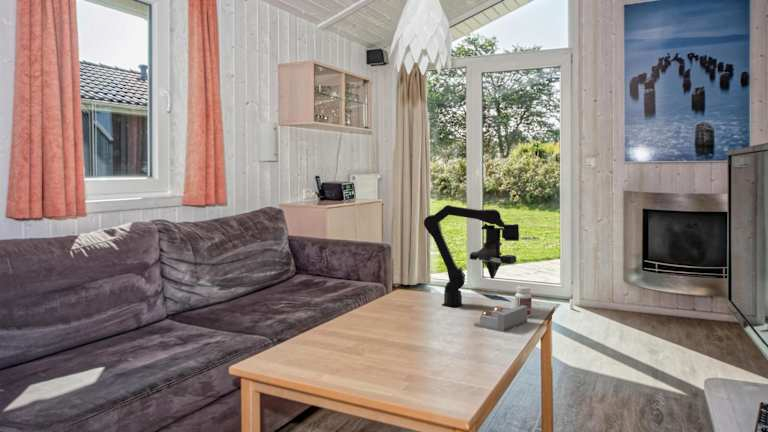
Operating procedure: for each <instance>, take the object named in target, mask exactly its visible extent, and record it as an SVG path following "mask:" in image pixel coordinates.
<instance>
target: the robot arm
mask: <svg viewBox="0 0 768 432" xmlns="http://www.w3.org/2000/svg"><path fill="white" fill-rule="evenodd" d="M448 216H455V217H460V218H467V219H474V220H478V221H481V222H484V225H482V226H481V230H485V242H484V243H483V248H480V250H476V251H471V252H470V253H469V260H473V261H476V260H479V261H481V263H482V264H484V265H485V266H486V268H487V271H488V274H489V277H490V279H492V280H493V279H495V276H496V274H497V272H498V270H499V268H500V266H501V265H502V264H505V265H506V264H507V265H510V264H515V263H517V257H516V255H512V254H505V255H502V252H501V246H502V245H503V243H502V242H501V239H503V240H504V241H505V242H506V241H507V242H519V241H520V232H519V230H520V229H519V225H520V224H519V223H514V224H513V223H511V224H509V223H508V224H507V223H505V221H503V220H502V218H501V216H502V215H501V213H500V211H499V210H497V209H493V208H492V209H491V208H490V209H476V208H475V209H474V208H469V207H461V206H460V207H459V206H454V205H451V204H447V205H444V206H443V208H442V209H440V210H439V211H437V212H436V213H435V214H430V215H428V216H427V217H425V218H424V220H423V226H424V228H425V229H426V231H427V232H428V233H429V235H430V236H431V237H432V238H433V240H434V242H435V243H434V244H435V245H436V247H437V250H438V251H439V254H440V256H441V258H442V261H443V263H444V266H445V267H446V270H447V276H448V280H449V281H448V282H447V283H446V284H445V286H444V295H443V296H444V298H443V299H444V300H443V302H444V303H442V304H441V306H445V307H450V308H458V307H461V306H463V305H464V303H462V302H463V299H462V298H463V295H462V291H461V290H460V289H461V288H463V286H464V284H465V281H466V274H465V273H464V270H463V268H462V266H460V267H458V265H457V264H456V262H455V260H454V258H453V256H452V253H451V251H450V249H449V246H448V244H447V242H446V239H445V237H444V235H443V233H442V232H443V231H442V227H441V222H442V221H443V220H444V219H445V218H447V217H448ZM496 226H497V227H496Z"/></svg>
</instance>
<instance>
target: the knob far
mask: <svg viewBox="0 0 768 432" xmlns="http://www.w3.org/2000/svg"><path fill="white" fill-rule="evenodd" d="M507 310H509V309H503V306H497V305H496V306H494V307H493V310H492V311H497V312H505V311H507Z"/></svg>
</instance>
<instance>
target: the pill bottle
mask: <svg viewBox="0 0 768 432" xmlns="http://www.w3.org/2000/svg"><path fill="white" fill-rule="evenodd" d="M515 289H516V293H515V294H514V296H515V298H514V308H515V307H518V306H521V305H523V306H527V318H530V317H531V316H532V299H533V298H532V294H531V293H530V292H531V286H528V285H516V288H515Z"/></svg>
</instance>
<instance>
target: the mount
mask: <svg viewBox="0 0 768 432" xmlns="http://www.w3.org/2000/svg"><path fill="white" fill-rule="evenodd" d="M502 308H503V309H509V310H507V311H505V312H497V311H493V310H492V311H491V312H492V313H498V318H495V317H490V316H485V315H482V314H480V316H479V321H476V322H474V323H473V325H474V327H479V328H482V329H488V330H491V331H498V332H501V333H505V332H508V331H510V330H512V329H514V328H517V327H519V326H521V325H522V326H523V324H527V323H528V317H527V306H523V305H521V306H518V307H515V306H514V307H506V306H502Z"/></svg>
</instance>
